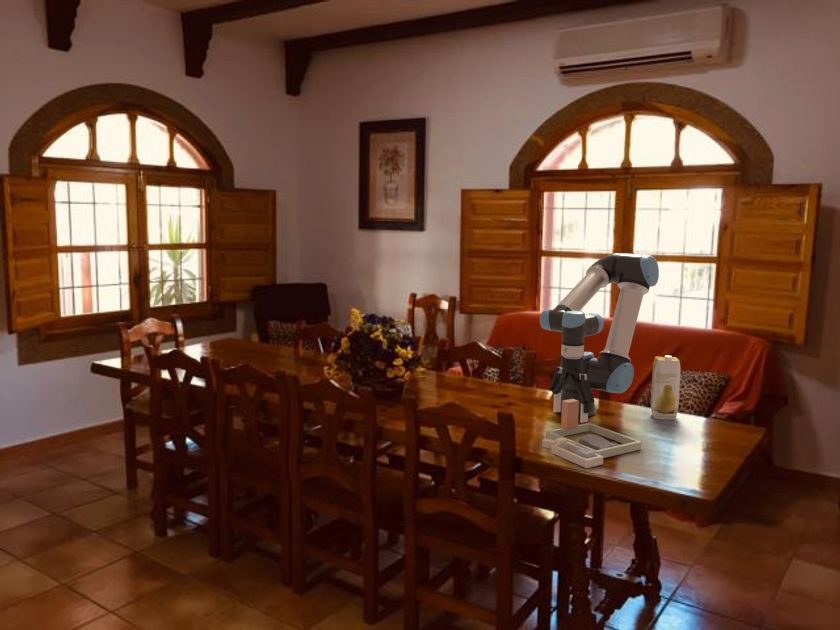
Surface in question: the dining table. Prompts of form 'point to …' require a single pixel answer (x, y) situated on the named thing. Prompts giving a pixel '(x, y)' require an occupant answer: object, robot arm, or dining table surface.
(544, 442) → the snapped post
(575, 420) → the shallow white tray
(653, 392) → the juice carton
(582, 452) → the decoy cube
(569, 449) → the tray
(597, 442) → the stone block
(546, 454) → the dining table surface
